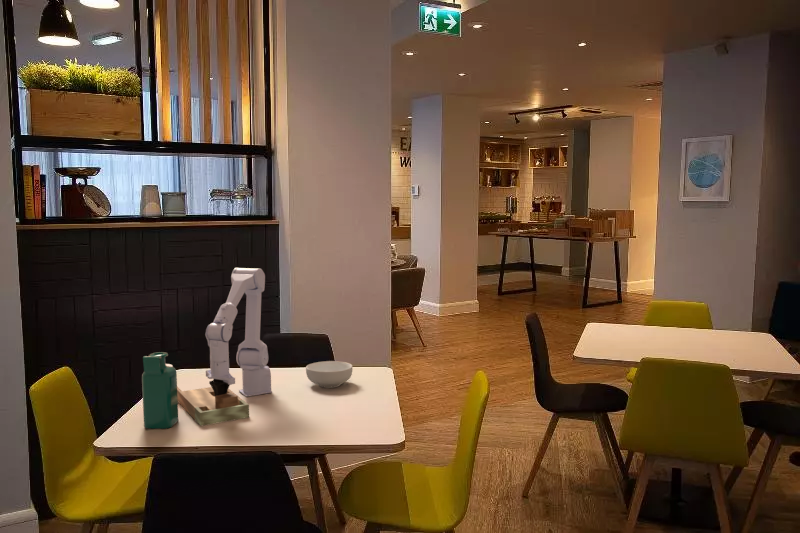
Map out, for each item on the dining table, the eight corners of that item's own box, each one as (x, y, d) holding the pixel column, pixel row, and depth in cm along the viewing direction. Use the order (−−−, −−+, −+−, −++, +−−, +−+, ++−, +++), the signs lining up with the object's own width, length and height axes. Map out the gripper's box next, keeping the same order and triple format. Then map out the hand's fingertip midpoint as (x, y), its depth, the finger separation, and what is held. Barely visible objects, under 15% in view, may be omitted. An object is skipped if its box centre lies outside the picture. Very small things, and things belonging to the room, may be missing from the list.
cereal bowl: (361, 382, 245) (361, 364, 244) (333, 394, 231) (333, 374, 230) (325, 376, 254) (325, 358, 253) (296, 386, 240) (296, 367, 239)
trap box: (218, 391, 234) (218, 380, 234) (249, 417, 206) (248, 404, 206) (174, 398, 226) (174, 386, 226) (200, 425, 198) (200, 412, 198)
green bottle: (153, 419, 204) (150, 349, 202) (180, 419, 204) (177, 349, 202) (139, 430, 194) (136, 357, 192) (168, 430, 194) (165, 357, 192)
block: (215, 408, 209) (215, 396, 208) (229, 405, 212) (229, 392, 212) (223, 411, 205) (223, 399, 205) (237, 408, 209) (237, 395, 208)
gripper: (196, 358, 212) (198, 400, 214) (220, 366, 202) (221, 410, 204) (216, 355, 217) (217, 395, 219) (240, 362, 207) (241, 405, 209)
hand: (220, 402), depth 211 cm, fingers closed
